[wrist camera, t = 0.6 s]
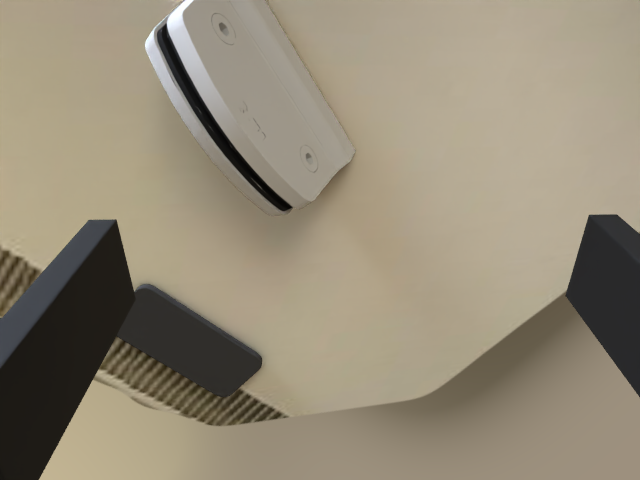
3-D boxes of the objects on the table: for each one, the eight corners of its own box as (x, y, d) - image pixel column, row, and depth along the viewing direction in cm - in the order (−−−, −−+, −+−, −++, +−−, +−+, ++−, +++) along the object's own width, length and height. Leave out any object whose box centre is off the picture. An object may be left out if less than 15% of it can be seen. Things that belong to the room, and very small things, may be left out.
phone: (142, 283, 46) (266, 363, 51) (145, 278, 47) (267, 357, 52) (103, 329, 49) (224, 400, 54) (106, 323, 50) (225, 395, 55)
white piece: (358, 154, 41) (324, 226, 34) (313, 173, 43) (272, 244, 36) (239, -43, 34) (163, -7, 27) (193, -7, 36) (112, 35, 29)
